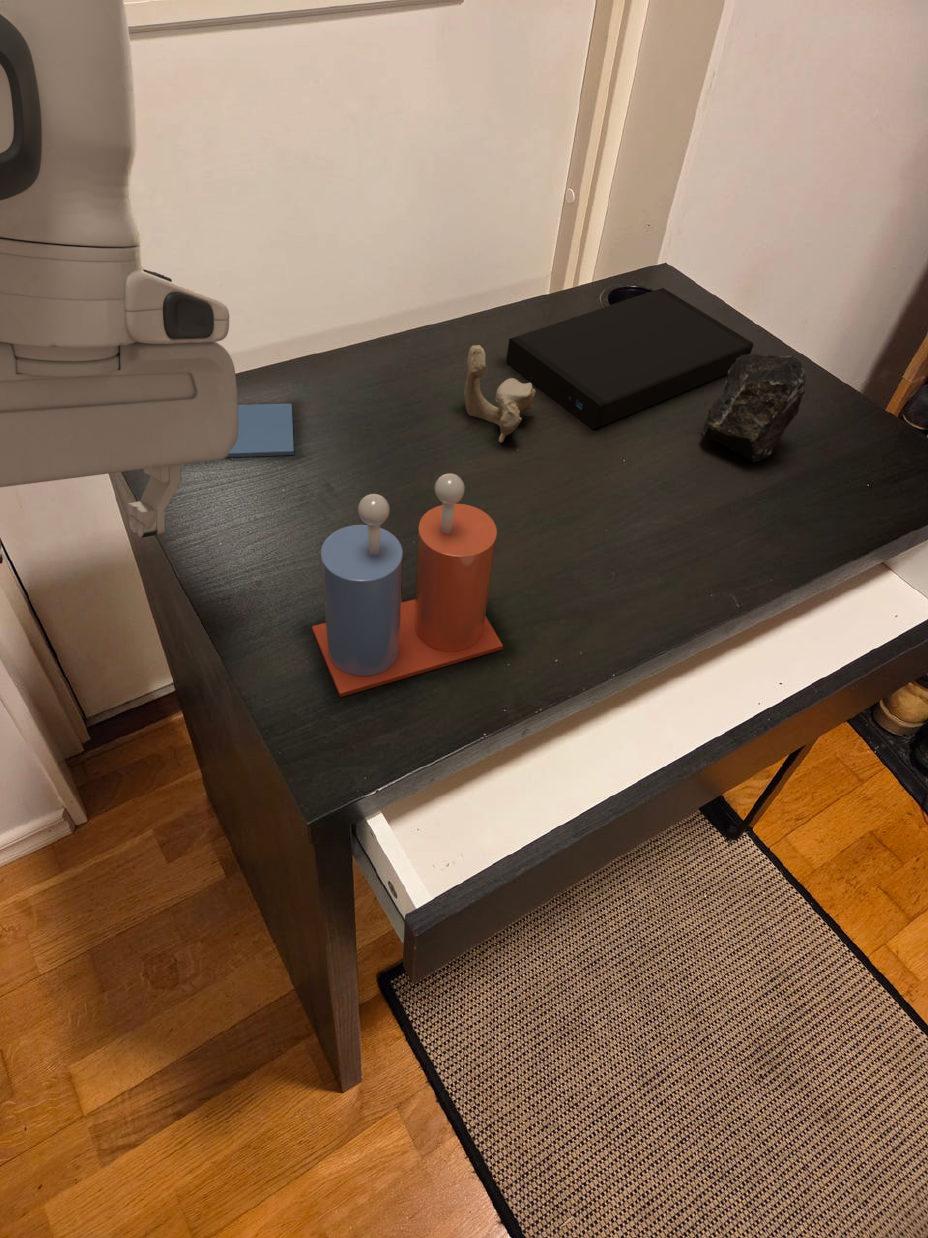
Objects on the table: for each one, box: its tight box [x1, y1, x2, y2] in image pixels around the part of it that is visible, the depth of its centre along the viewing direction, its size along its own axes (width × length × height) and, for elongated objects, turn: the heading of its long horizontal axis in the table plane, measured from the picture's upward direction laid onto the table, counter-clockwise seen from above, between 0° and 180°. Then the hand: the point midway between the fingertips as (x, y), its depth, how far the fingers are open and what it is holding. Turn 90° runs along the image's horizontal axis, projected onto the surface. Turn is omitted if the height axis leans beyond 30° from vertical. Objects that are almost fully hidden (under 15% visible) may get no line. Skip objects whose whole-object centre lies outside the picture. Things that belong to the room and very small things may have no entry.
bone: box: [463, 344, 537, 444], centre depth 82 cm, size 9×6×10 cm
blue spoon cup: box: [320, 493, 404, 676], centre depth 58 cm, size 5×5×15 cm
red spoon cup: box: [414, 473, 498, 652], centre depth 61 cm, size 5×5×15 cm
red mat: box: [311, 598, 504, 698], centre depth 65 cm, size 13×7×1 cm, turn 114°
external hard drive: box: [505, 287, 754, 430], centre depth 93 cm, size 14×23×3 cm, turn 126°
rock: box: [700, 352, 807, 463], centre depth 82 cm, size 8×7×10 cm
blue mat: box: [225, 403, 295, 459], centre depth 81 cm, size 9×8×1 cm
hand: (70, 547), depth 50 cm, fingers open, 8 cm apart
